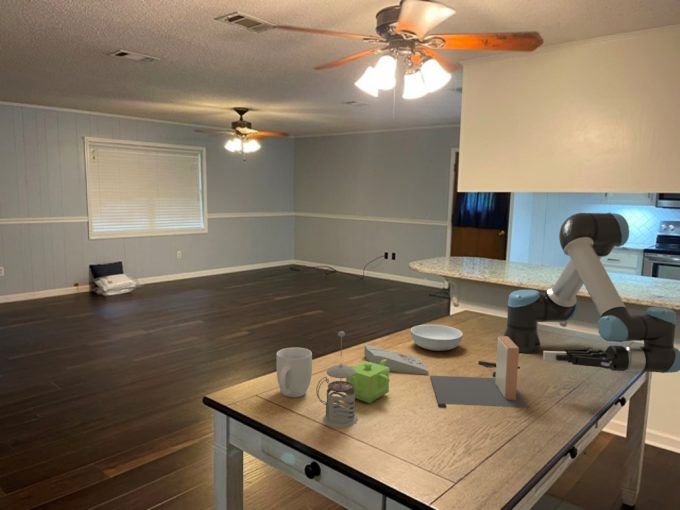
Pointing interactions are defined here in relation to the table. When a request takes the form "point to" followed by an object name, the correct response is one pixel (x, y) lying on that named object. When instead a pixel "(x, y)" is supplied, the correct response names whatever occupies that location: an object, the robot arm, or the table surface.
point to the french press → (335, 412)
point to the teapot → (370, 381)
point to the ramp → (395, 360)
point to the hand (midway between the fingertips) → (544, 355)
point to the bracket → (489, 366)
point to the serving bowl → (436, 337)
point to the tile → (507, 367)
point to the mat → (471, 392)
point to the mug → (294, 371)
